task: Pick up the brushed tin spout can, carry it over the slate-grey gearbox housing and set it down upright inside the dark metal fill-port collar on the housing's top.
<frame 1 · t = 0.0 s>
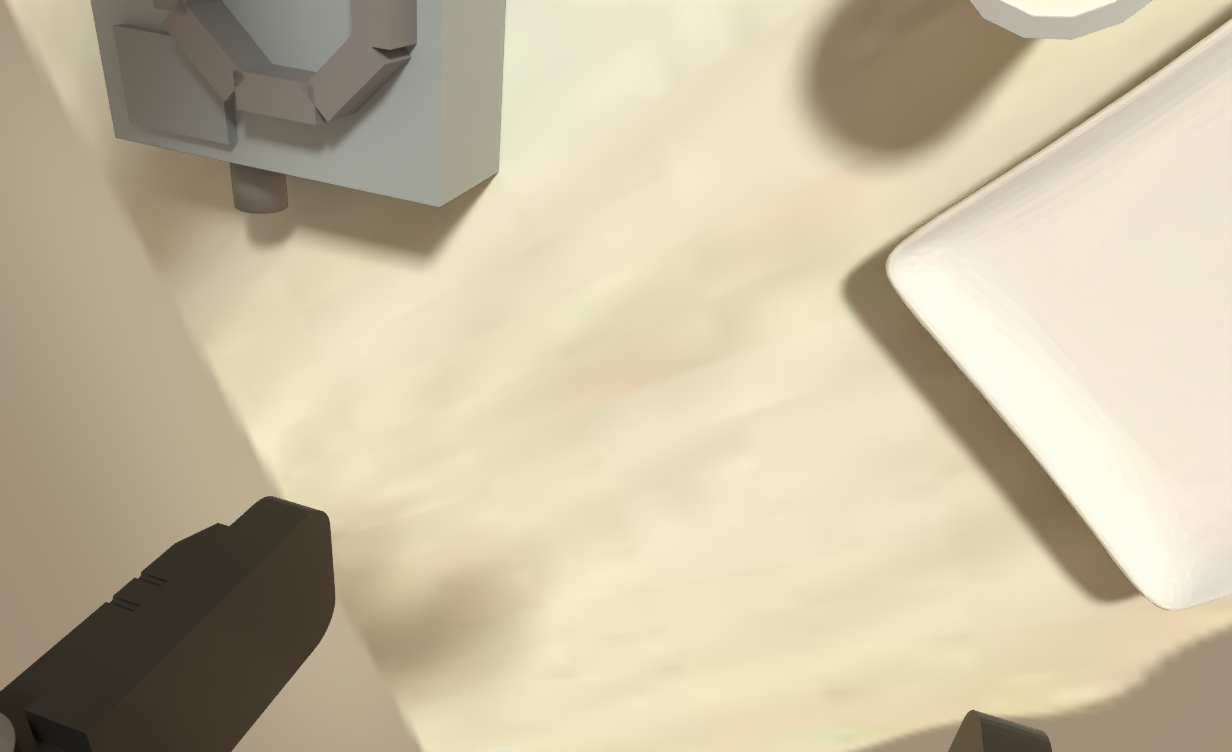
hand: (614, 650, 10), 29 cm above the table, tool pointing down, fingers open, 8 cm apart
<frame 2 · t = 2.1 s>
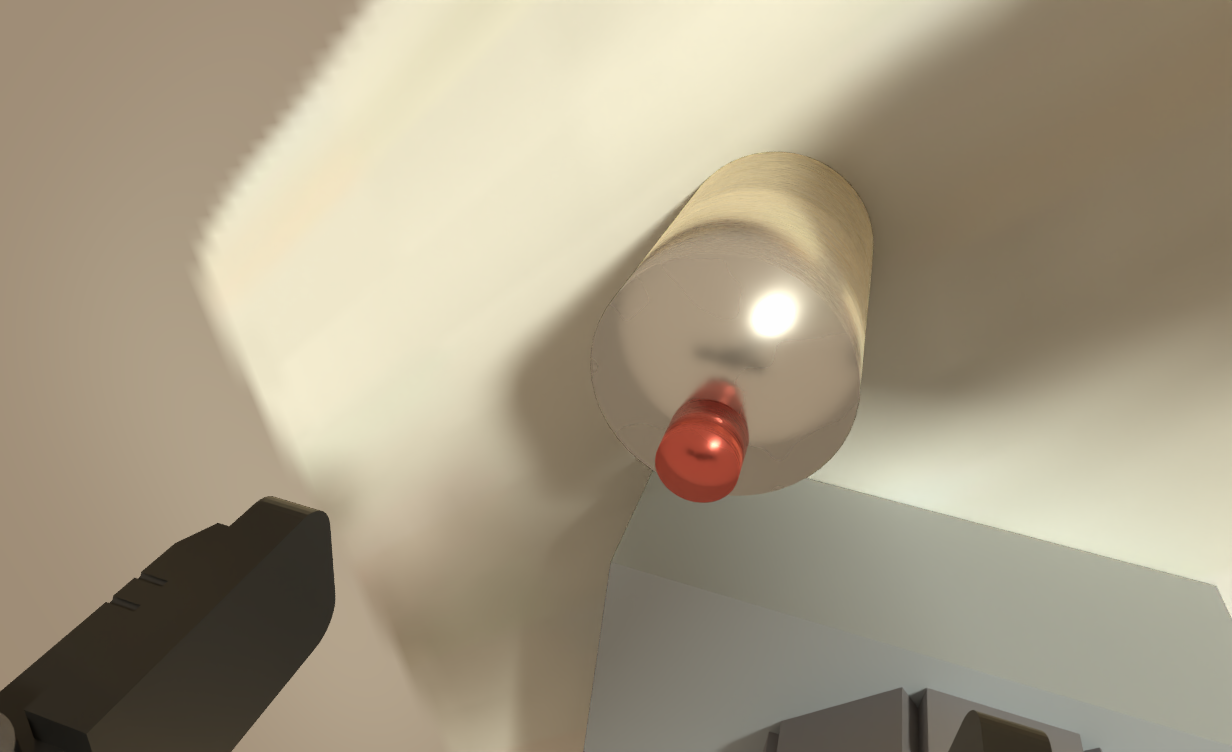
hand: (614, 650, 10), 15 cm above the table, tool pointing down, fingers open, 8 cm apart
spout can: (773, 247, 23), on the table
gearbox: (863, 669, 29), on the table
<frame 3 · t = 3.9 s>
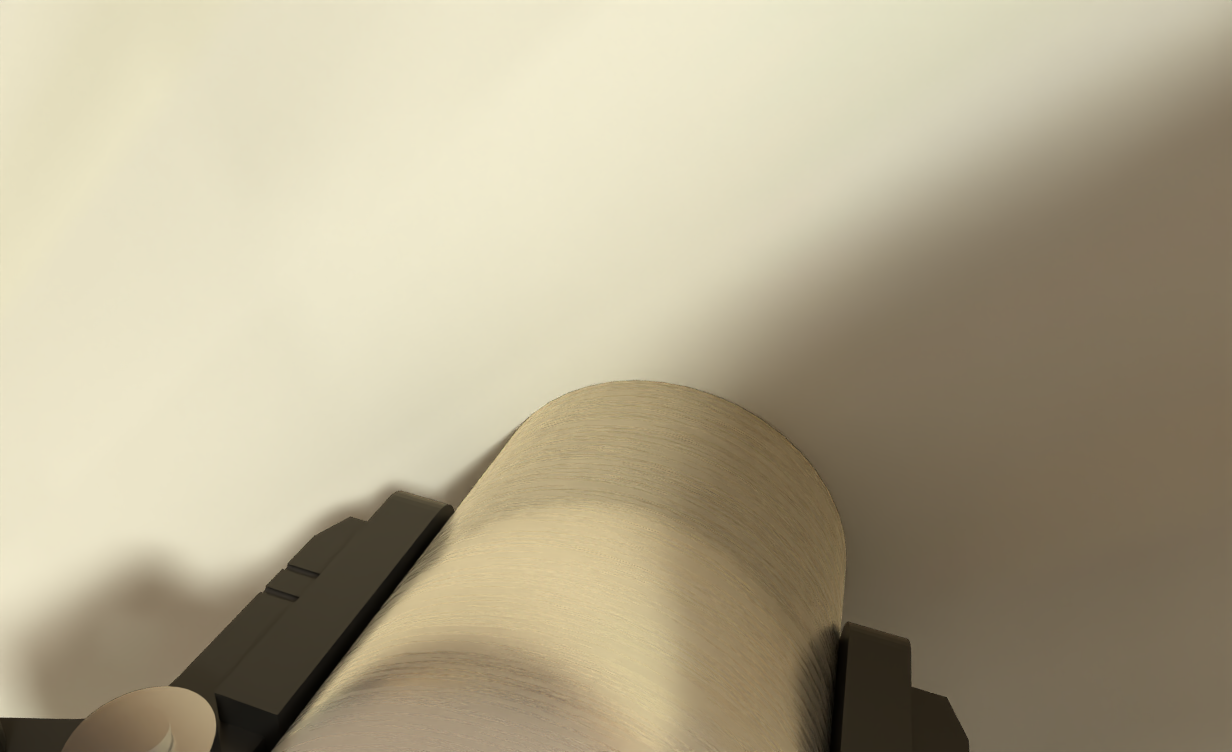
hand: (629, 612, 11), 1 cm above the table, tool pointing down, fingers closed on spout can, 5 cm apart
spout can: (659, 541, 12), on the table, touching gripper
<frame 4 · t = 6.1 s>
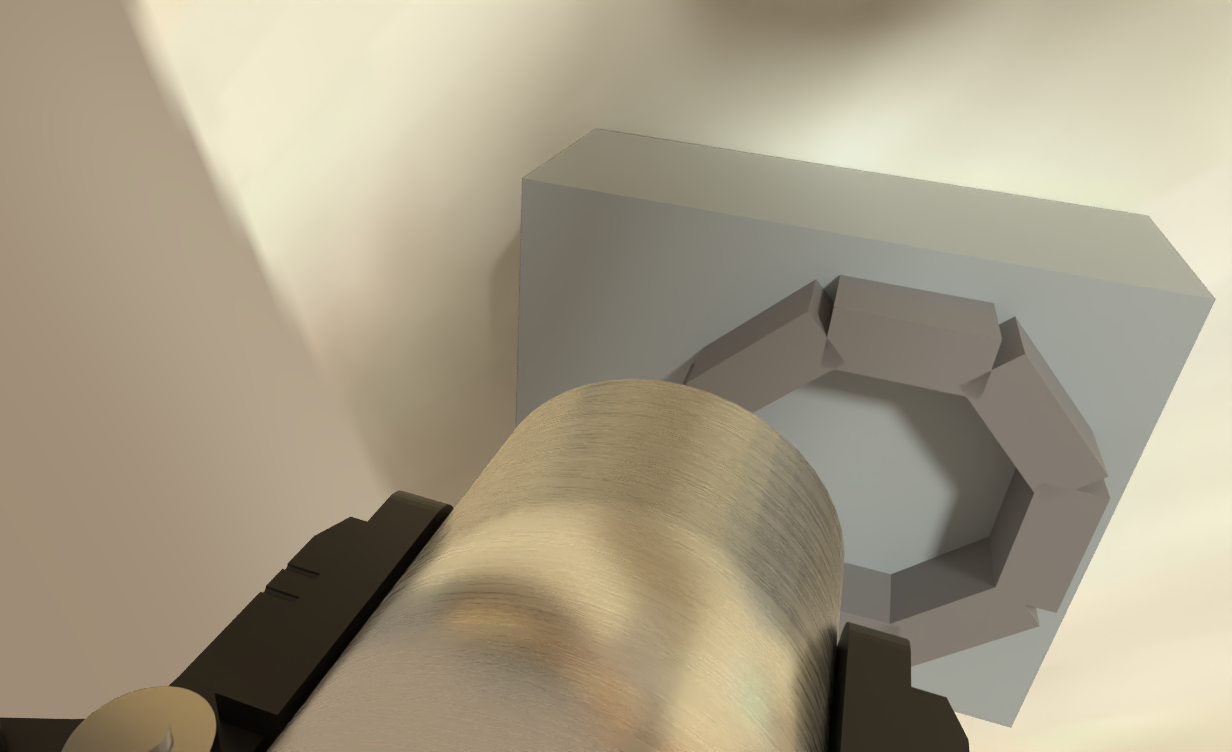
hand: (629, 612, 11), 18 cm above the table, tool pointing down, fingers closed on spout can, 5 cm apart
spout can: (657, 539, 12), point 16 cm above the table, touching gripper
gearbox: (807, 374, 28), on the table
when the fingers open (9 cm above the table, at t = 8.4 s): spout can drops 2 cm, resting on gearbox.
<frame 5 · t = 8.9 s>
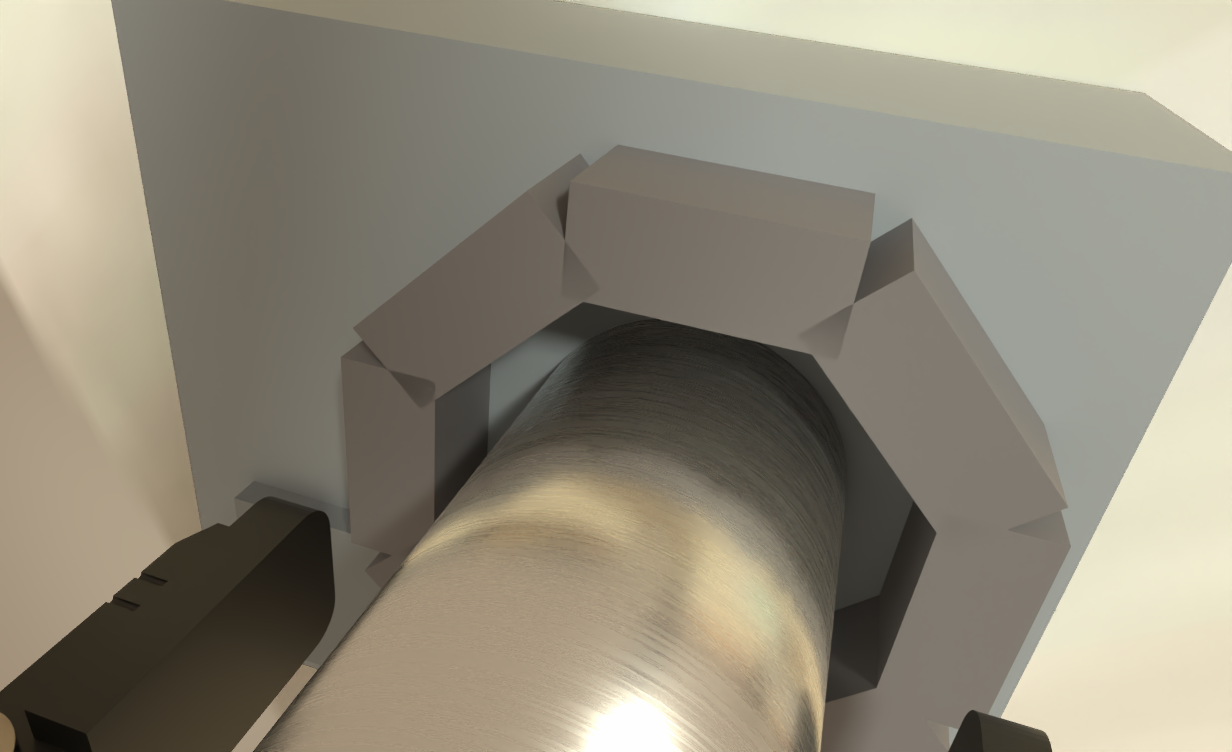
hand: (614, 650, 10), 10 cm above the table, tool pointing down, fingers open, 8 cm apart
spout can: (682, 465, 14), point 6 cm above the table, touching gearbox
gearbox: (652, 342, 20), on the table
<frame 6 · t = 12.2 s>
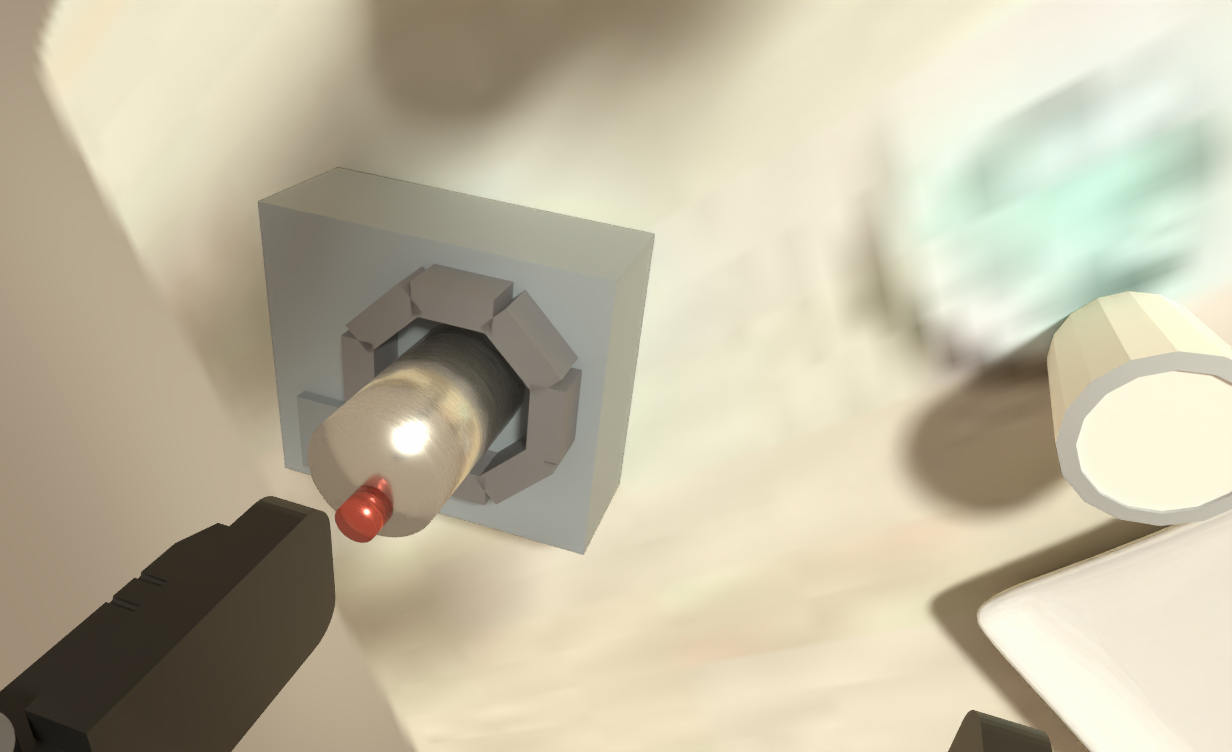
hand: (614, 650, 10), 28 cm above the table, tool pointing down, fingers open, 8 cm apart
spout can: (469, 376, 37), point 6 cm above the table, touching gearbox
cream short cylinder: (1122, 353, 35), on the table
gearbox: (484, 332, 43), on the table
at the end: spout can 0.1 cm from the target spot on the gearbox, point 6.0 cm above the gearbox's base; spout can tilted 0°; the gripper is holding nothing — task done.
